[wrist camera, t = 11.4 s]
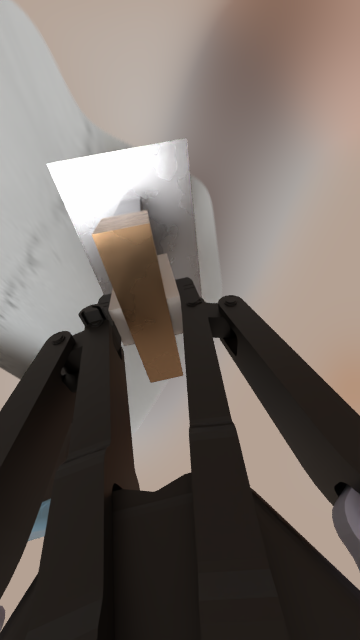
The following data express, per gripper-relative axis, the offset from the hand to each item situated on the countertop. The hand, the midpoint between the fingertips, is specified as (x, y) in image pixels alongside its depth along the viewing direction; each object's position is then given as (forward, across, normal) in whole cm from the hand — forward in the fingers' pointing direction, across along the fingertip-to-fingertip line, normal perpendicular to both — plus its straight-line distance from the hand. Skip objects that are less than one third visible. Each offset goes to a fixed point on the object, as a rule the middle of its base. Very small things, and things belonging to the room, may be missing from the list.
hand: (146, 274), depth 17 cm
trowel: (+4, 0, 0) cm, 4 cm away
